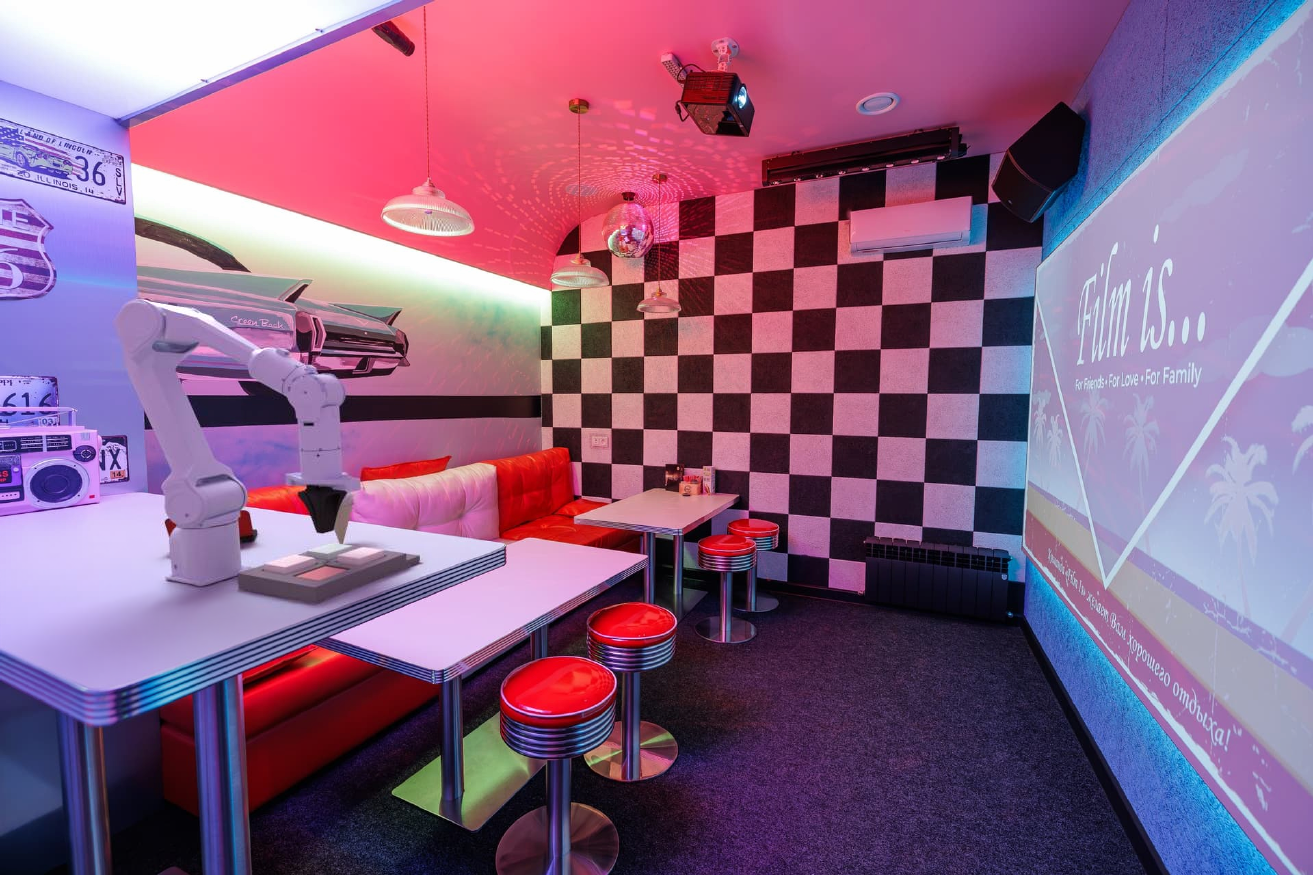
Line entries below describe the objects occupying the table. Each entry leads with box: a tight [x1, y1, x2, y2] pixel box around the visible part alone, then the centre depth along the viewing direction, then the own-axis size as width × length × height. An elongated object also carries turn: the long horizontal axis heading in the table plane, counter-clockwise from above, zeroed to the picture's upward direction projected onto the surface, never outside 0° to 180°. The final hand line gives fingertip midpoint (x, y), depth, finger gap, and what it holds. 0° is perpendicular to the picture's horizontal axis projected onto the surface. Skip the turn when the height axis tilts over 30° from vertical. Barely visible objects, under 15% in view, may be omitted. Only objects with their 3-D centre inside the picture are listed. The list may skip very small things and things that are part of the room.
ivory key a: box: [263, 554, 315, 575], centre depth 85 cm, size 5×5×1 cm
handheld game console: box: [164, 509, 258, 544], centre depth 105 cm, size 12×11×7 cm
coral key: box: [296, 566, 346, 581], centre depth 82 cm, size 5×5×1 cm
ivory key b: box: [337, 546, 385, 566], centre depth 89 cm, size 5×5×1 cm
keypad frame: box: [237, 543, 421, 605], centre depth 88 cm, size 17×20×2 cm
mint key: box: [306, 542, 354, 561], centre depth 91 cm, size 5×5×1 cm
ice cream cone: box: [333, 491, 355, 544], centre depth 104 cm, size 5×5×15 cm
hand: (325, 531), depth 87 cm, fingers closed
